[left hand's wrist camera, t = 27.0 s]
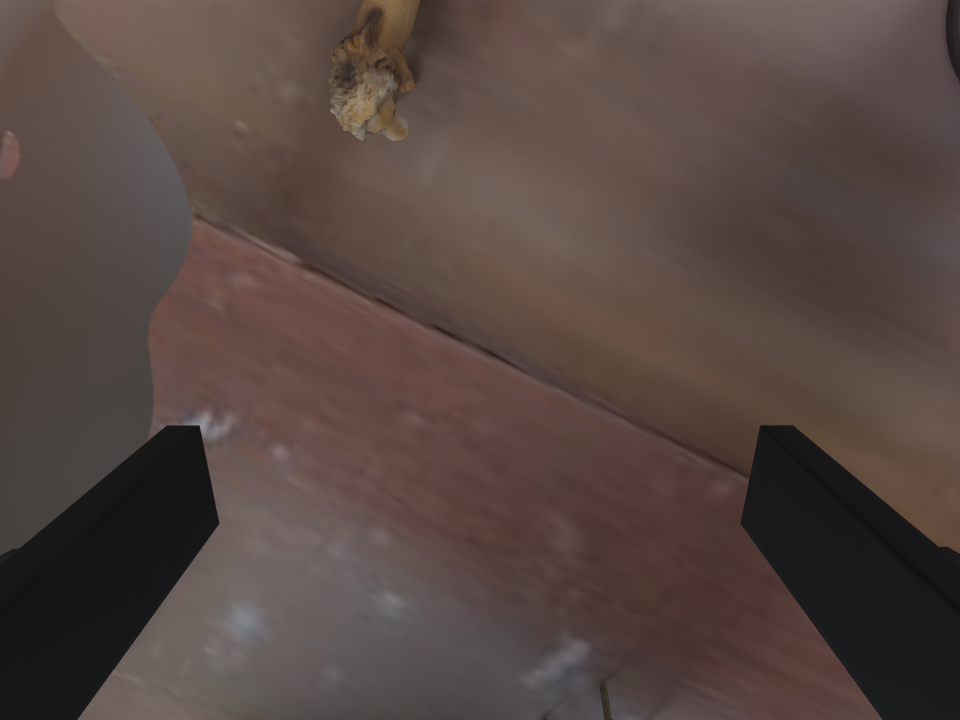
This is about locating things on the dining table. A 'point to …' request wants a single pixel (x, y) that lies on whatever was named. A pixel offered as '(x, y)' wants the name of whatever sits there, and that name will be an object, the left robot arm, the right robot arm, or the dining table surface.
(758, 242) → the dining table surface
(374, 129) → the lion figurine
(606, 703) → the miniature windmill
